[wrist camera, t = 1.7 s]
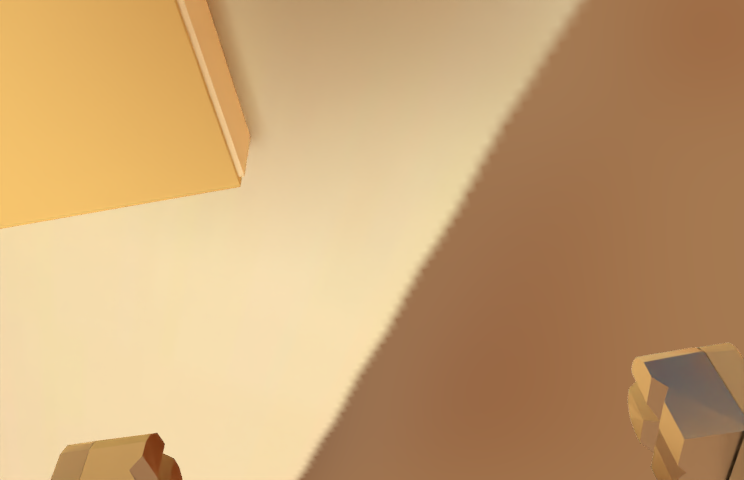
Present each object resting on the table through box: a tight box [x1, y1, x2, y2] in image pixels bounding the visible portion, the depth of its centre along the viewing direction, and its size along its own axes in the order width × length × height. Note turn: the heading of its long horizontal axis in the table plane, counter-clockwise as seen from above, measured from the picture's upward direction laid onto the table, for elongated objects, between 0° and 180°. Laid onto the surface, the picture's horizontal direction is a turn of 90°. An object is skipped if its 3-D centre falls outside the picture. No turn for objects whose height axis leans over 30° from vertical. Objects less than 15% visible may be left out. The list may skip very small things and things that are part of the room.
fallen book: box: [0, 0, 250, 229], centre depth 26 cm, size 11×14×4 cm
